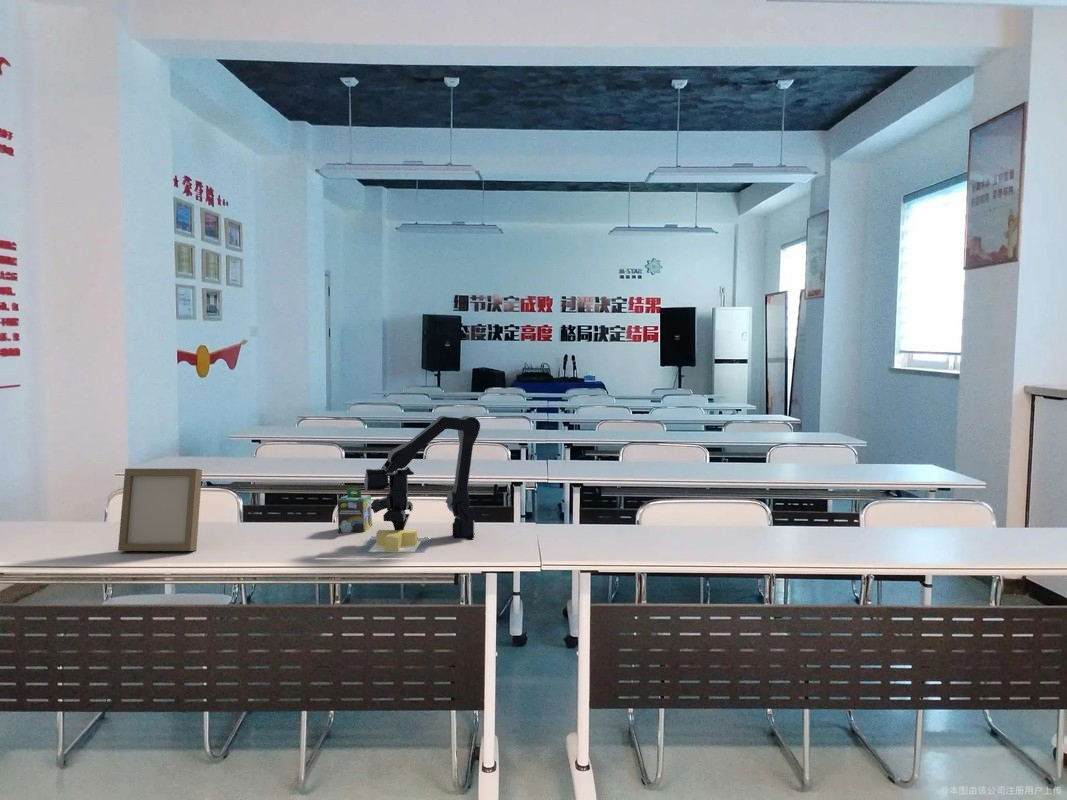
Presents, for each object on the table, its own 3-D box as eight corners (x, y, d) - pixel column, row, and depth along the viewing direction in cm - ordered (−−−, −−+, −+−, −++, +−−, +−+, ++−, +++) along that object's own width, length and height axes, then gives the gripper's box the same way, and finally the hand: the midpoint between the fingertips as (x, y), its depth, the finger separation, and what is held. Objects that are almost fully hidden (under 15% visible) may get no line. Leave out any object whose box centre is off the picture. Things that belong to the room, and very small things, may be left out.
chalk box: (372, 528, 280) (371, 485, 279) (364, 533, 271) (363, 489, 270) (346, 527, 281) (345, 484, 280) (337, 533, 271) (336, 489, 271)
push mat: (433, 537, 264) (433, 536, 264) (424, 554, 243) (424, 552, 243) (372, 537, 265) (372, 536, 265) (357, 553, 244) (357, 552, 244)
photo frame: (190, 554, 244) (188, 471, 242) (118, 554, 244) (115, 471, 242) (210, 542, 258) (208, 464, 257) (142, 542, 259) (140, 464, 257)
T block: (417, 542, 256) (417, 530, 256) (411, 551, 245) (411, 538, 245) (379, 542, 256) (379, 530, 256) (371, 551, 245) (371, 538, 245)
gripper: (378, 484, 266) (379, 531, 267) (366, 494, 247) (367, 545, 248) (412, 484, 266) (413, 531, 267) (403, 494, 247) (403, 545, 248)
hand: (398, 537), depth 258 cm, fingers closed
